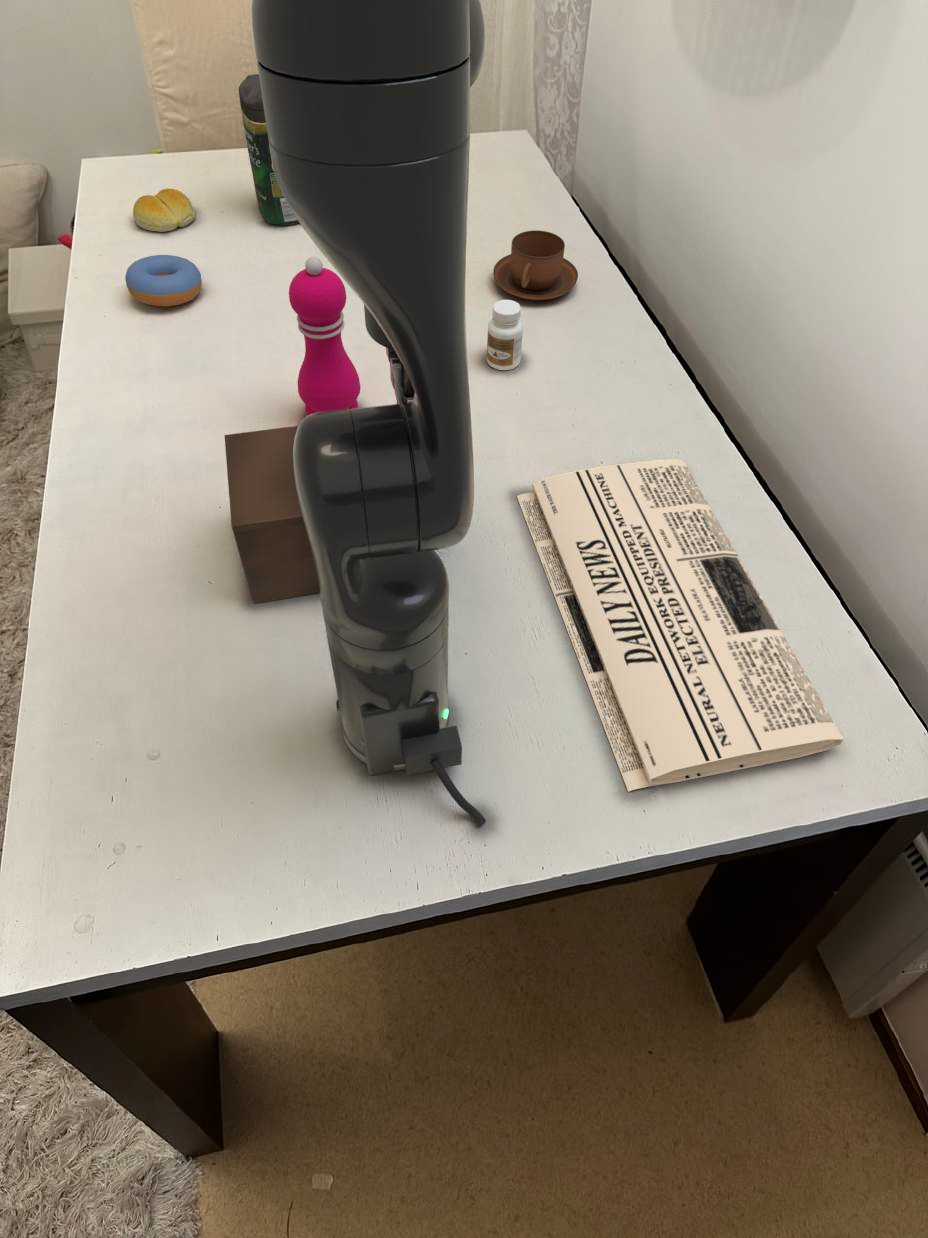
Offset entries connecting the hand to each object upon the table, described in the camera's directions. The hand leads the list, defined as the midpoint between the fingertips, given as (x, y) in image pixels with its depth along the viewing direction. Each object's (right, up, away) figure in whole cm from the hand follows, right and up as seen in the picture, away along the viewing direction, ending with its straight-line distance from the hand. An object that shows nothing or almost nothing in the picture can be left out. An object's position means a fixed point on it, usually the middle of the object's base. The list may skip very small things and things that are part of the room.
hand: (414, 445), depth 81 cm
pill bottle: (+10, +17, +29) cm, 35 cm away
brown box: (-10, -9, +8) cm, 16 cm away
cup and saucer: (+15, +31, +40) cm, 53 cm away
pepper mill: (-11, +8, +21) cm, 25 cm away
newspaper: (+24, -16, +3) cm, 29 cm away
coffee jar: (-24, +47, +52) cm, 74 cm away
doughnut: (-36, +28, +37) cm, 59 cm away
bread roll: (-41, +45, +50) cm, 79 cm away
